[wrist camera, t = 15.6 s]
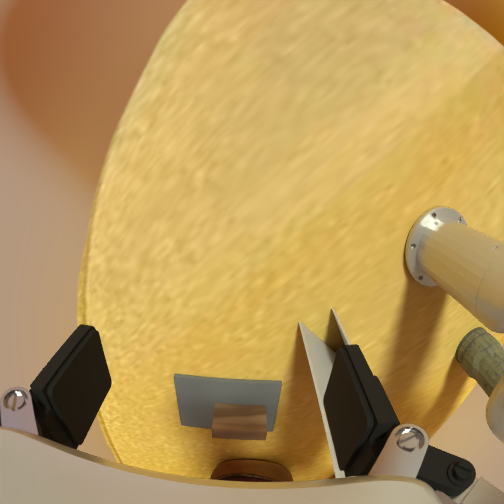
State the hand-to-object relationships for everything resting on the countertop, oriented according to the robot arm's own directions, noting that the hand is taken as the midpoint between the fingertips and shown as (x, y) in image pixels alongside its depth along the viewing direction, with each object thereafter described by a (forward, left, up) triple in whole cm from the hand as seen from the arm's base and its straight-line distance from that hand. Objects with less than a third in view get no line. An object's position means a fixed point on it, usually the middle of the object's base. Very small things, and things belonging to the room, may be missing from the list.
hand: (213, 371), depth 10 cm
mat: (+1, +34, -28) cm, 44 cm away
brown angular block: (-1, +34, -28) cm, 44 cm away
